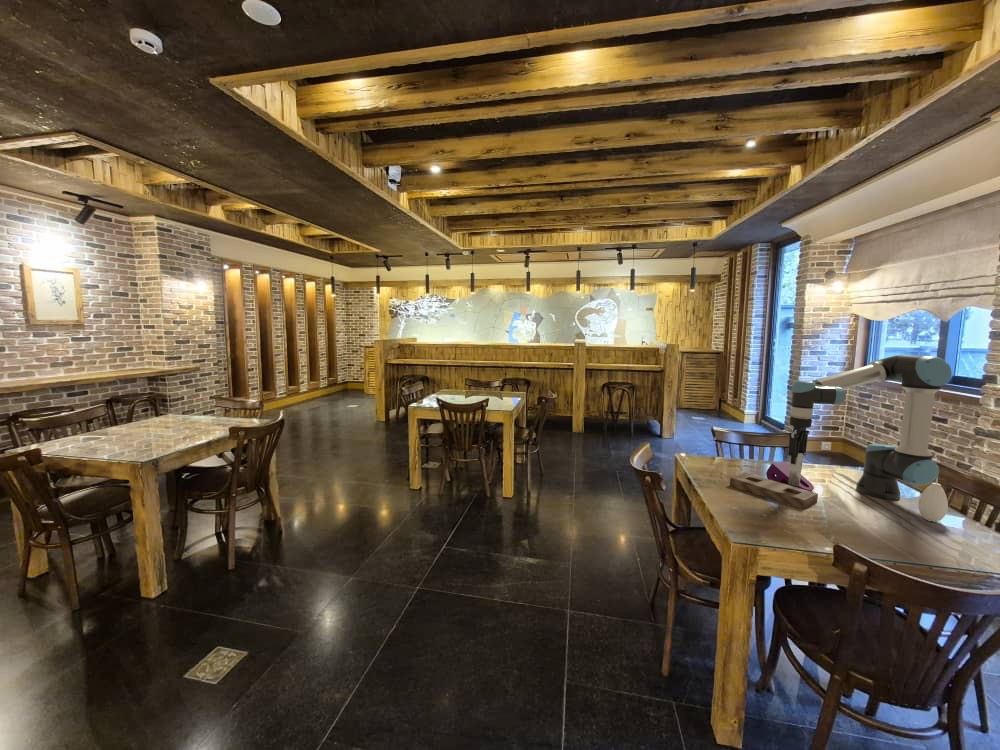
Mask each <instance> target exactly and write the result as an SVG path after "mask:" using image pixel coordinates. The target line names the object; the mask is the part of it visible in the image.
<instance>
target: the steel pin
mask: <svg viewBox="0 0 1000 750" xmlns="http://www.w3.org/2000/svg"><path fill="white" fill-rule="evenodd" d="M797 457H799V458H798V468H797V472H794V471H790V472H789V481H788V483H787V484H788V485H790V486H792V485H794V486H799V485H800V477H801V475H802V474H801V473H802V470H801V467H802V468H803V462H802V458H803V459H804V455H803V453H801V452H798V456H797Z"/></svg>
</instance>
